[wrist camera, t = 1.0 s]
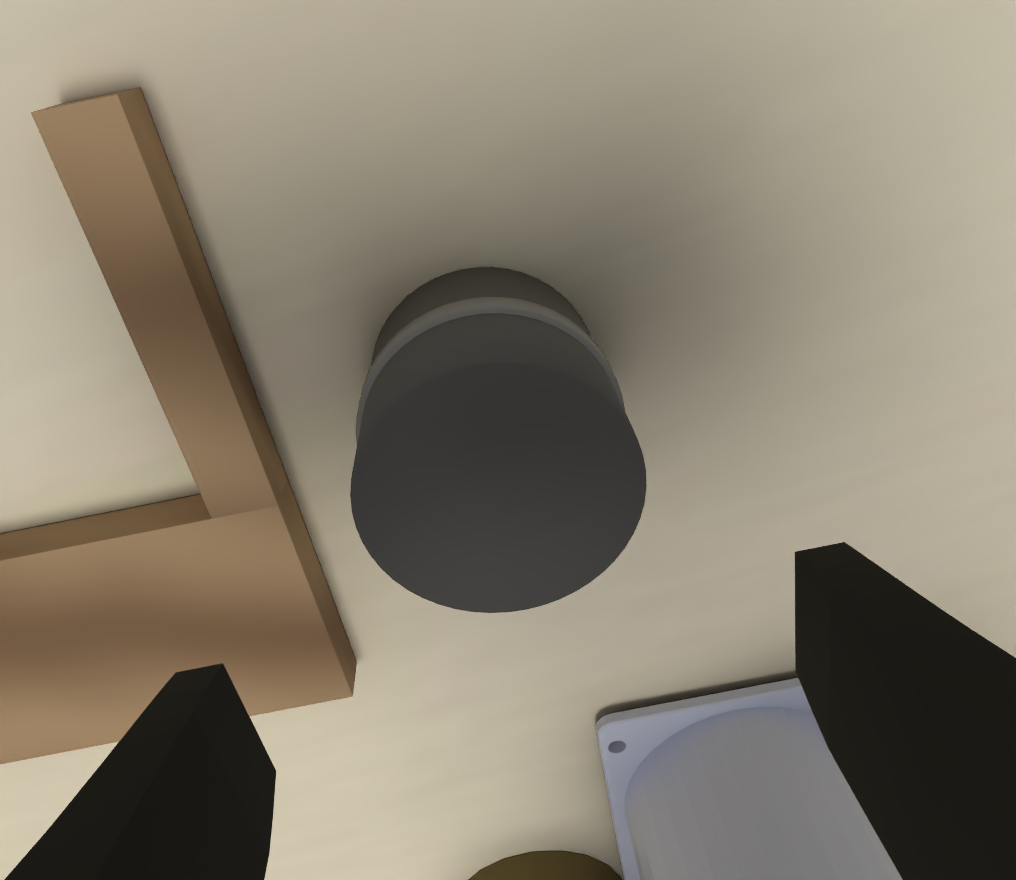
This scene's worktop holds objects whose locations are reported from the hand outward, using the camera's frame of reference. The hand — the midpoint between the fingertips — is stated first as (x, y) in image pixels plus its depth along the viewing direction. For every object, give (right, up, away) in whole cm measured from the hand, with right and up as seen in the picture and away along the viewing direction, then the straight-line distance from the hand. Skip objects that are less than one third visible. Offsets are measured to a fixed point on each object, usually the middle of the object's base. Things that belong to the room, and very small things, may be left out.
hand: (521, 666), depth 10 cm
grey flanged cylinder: (-1, +4, +8) cm, 9 cm away
